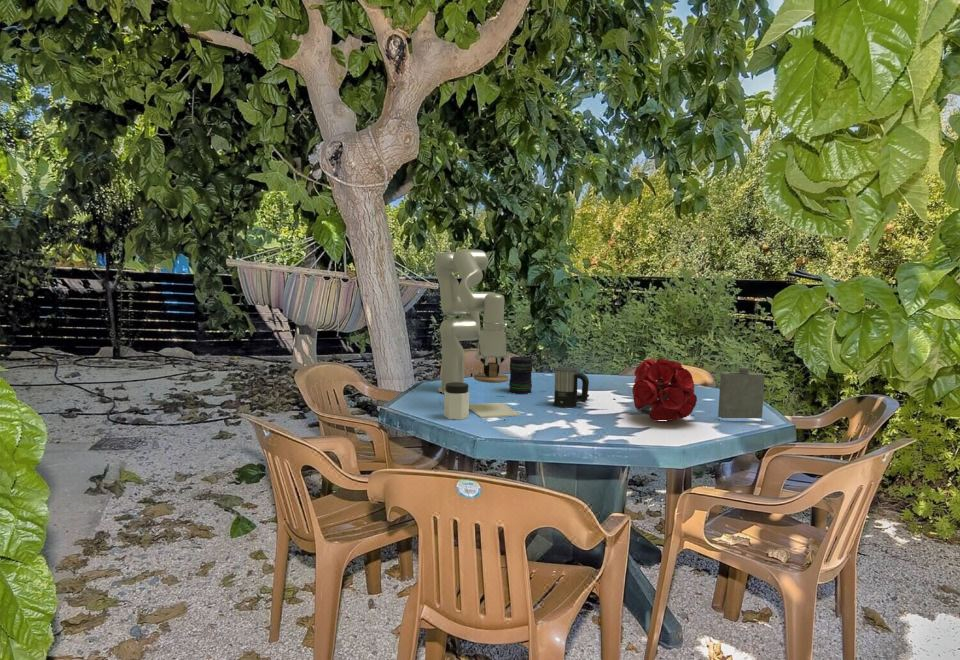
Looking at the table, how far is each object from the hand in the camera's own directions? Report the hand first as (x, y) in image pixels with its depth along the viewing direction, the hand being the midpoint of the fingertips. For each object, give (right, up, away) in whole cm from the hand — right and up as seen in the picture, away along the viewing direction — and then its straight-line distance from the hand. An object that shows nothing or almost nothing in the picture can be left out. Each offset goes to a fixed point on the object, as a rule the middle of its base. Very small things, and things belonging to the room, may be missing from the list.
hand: (491, 374), depth 232 cm
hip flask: (+91, -17, -7) cm, 93 cm away
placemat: (0, -14, 0) cm, 14 cm away
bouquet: (+62, -16, -6) cm, 64 cm away
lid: (0, -2, 0) cm, 2 cm away
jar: (-13, -15, -11) cm, 22 cm away
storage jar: (+13, -10, +36) cm, 40 cm away
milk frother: (+32, -13, +15) cm, 38 cm away
